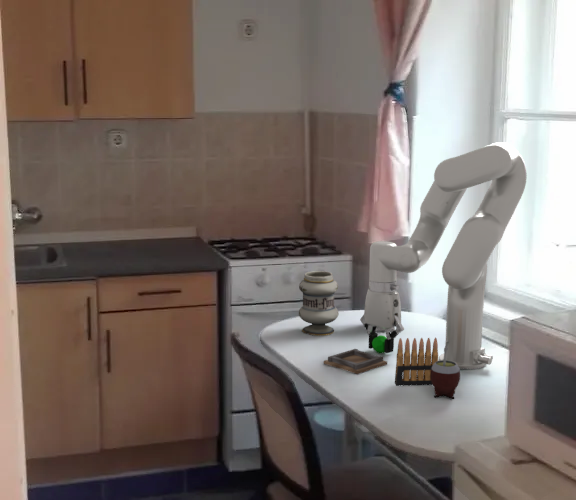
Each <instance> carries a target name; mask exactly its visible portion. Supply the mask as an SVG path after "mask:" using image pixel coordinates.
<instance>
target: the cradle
mask: <svg viewBox="0 0 576 500" xmlns="http://www.w3.org/2000/svg"><path fill="white" fill-rule="evenodd" d="M323 364H324V365H327V366H331V367H333V368H337V369H340V370H343V371H346V372H350V373H353V374H355V375H356V374H357V375H360V374H363V373H365V372H369V371H372V370H374V369H378V368H381V367H383V366H387V365H388V361H387V360H384V356H382V355H376V354H372V353H369V352H365V351H363V350H360V349H357V348H354V349H350V350H346V351H344V352H339V353H337V354H333V355H331V356H328V357H327V359H325V360H323Z"/></svg>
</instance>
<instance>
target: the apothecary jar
mask: <svg viewBox="0 0 576 500" xmlns="http://www.w3.org/2000/svg"><path fill="white" fill-rule="evenodd" d="M333 276H334V275H333V273H332V272H330V271H323V270H317V271H307V272H305V274H304V277H303V279H302V280H301V281H300V283H299V285H298V287H299V291H300V292H301V293H302V306H301V307H300V308H299V310H298V316H299V318H300V319H301V320H302V321H303V322H306V323H307V324H309V325H306V326H303V327H302V329H301V332H302V333H303V334H308V335H310V336H319V337H320V336H322V337H323V336H330V335H333V334H334V333H335V329H334V328H333V327H331V326H329V325H327V324H330V323H332V322H335V320H337V318H338V316H339V313H340V312H339V310H338V308H337V307H336V306H335V293H336V292H337V291H338V289H339V284H338V281H336V280H335V279H334V277H333Z"/></svg>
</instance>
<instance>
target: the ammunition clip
mask: <svg viewBox="0 0 576 500" xmlns="http://www.w3.org/2000/svg"><path fill="white" fill-rule="evenodd" d="M418 344H419V345H418ZM418 344H417V338H416V337H414V338H413V340H412V345H410V339H409V337H407V338H406V340H405V343H404V344H403V340H402V337H400V338H399V340H398V344H397V352H396V365H395V374H394V375H395V376H394V384H395V386H399V385H400V386H399V387H401V385H403V386H404V385H408V386H410V385H411V386H433V385H432V382H431V379H430V374H431V369H432V366H433V364H434V363H435V362H437V361H439V351H438V350H439V349H438V348H439V346H438V339H437V337H434V339H433V342H432V345H431V339H430V337H427V340H426V344H425V343H424V339H423V337H421V338H420V340H419V343H418ZM403 345H404V346H403ZM424 345H425V346H424ZM403 347H404V349H403ZM431 349H432V350H431ZM403 350H404V351H403ZM411 386H410V387H411Z"/></svg>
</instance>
